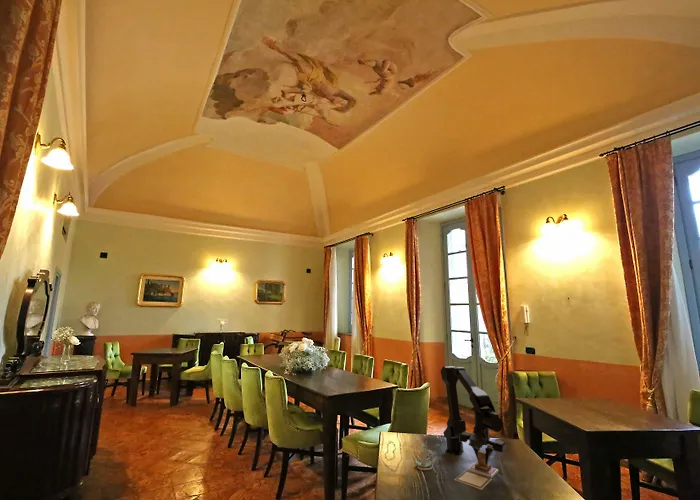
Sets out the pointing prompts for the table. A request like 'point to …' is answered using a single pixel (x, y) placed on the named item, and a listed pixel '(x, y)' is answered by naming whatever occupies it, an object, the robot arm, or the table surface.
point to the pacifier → (424, 462)
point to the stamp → (482, 461)
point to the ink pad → (489, 473)
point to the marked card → (473, 479)
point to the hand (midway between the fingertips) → (482, 462)
